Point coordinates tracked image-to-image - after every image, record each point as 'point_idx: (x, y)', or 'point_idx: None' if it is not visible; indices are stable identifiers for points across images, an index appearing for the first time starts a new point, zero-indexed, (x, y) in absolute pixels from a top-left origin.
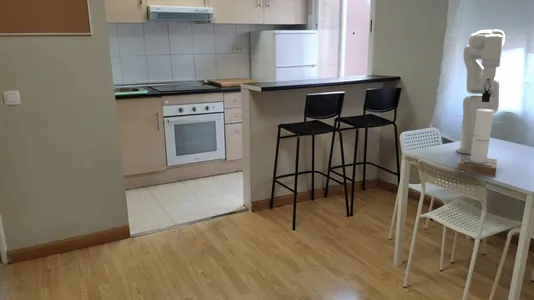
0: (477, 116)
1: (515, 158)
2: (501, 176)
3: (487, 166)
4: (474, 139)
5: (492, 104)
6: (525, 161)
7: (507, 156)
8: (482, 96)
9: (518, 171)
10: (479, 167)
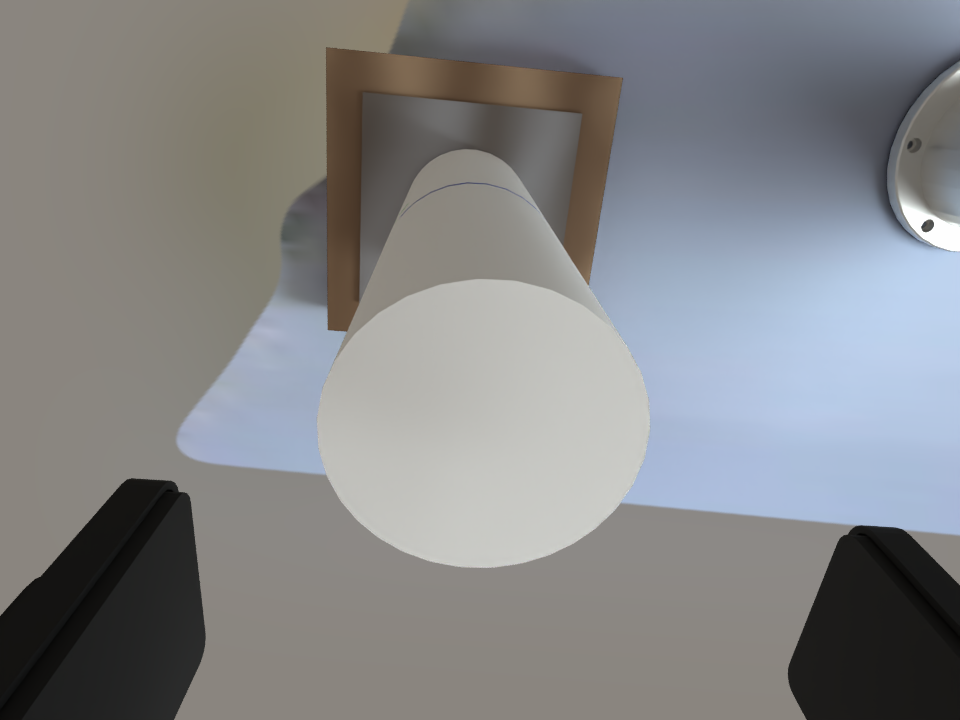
0: (402, 264)
1: (815, 453)
2: None
3: (349, 273)
4: (424, 191)
5: None
6: (752, 496)
7: (859, 413)
8: (11, 623)
9: None
10: (329, 216)
